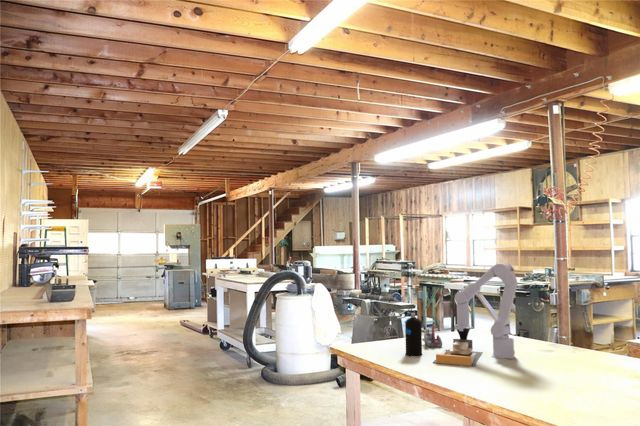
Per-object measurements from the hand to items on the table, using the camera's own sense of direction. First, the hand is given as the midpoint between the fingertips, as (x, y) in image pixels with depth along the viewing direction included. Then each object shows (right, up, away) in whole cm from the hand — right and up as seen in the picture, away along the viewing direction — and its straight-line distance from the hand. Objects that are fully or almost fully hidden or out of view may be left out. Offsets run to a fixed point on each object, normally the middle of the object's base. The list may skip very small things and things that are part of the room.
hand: (463, 343), depth 248 cm
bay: (-6, -3, -14) cm, 15 cm away
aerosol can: (-26, -4, -7) cm, 27 cm away
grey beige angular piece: (-3, -3, -7) cm, 8 cm away
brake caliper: (-13, -5, +14) cm, 19 cm away
